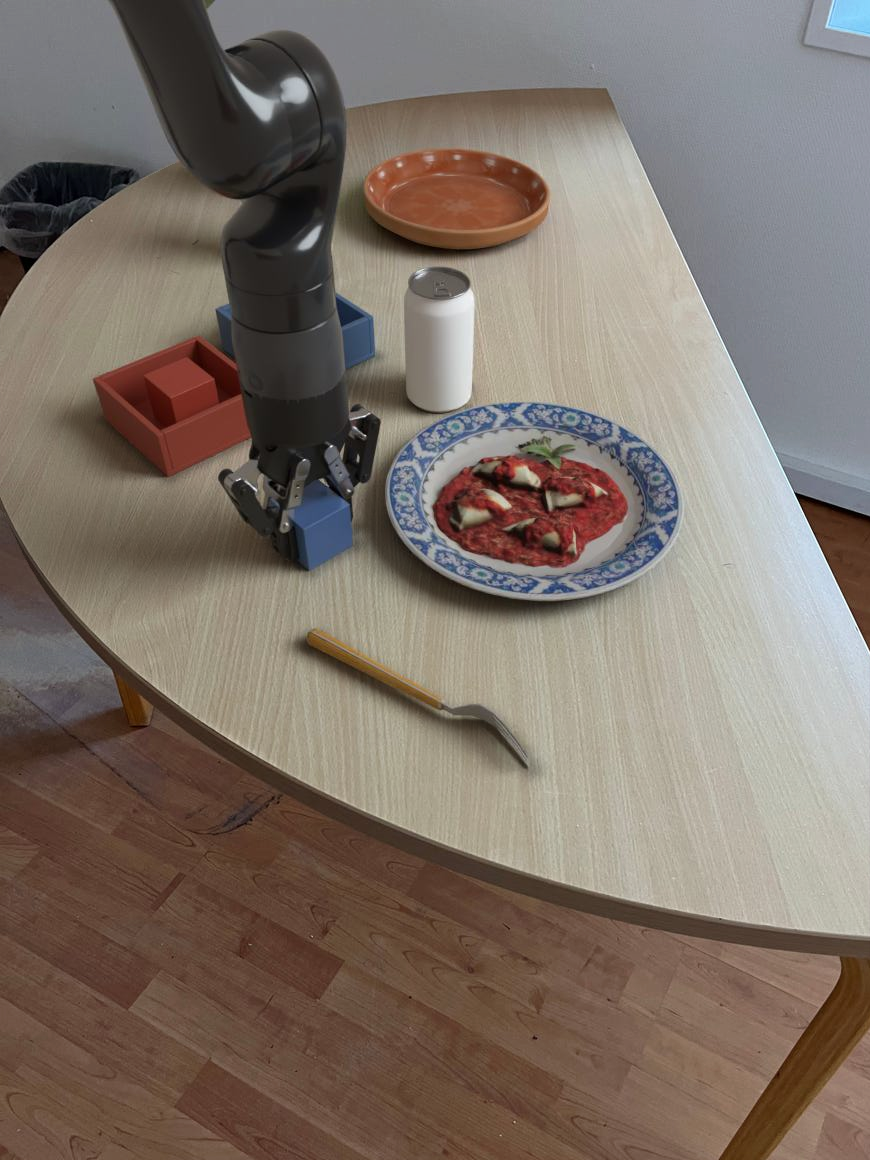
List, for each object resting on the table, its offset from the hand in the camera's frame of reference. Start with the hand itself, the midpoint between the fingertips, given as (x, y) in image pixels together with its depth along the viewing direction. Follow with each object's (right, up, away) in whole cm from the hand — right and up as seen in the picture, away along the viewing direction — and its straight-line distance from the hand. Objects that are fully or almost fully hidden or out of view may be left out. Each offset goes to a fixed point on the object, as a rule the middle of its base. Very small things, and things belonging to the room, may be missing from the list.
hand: (314, 540), depth 80 cm
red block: (-14, +13, +10) cm, 21 cm away
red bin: (-14, +12, +10) cm, 21 cm away
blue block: (0, 0, 0) cm, 0 cm away
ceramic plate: (+18, +3, +4) cm, 19 cm away
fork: (+9, -13, -10) cm, 19 cm away
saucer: (+11, +45, +40) cm, 61 cm away
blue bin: (-5, +21, +19) cm, 29 cm away
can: (+10, +16, +15) cm, 24 cm away
